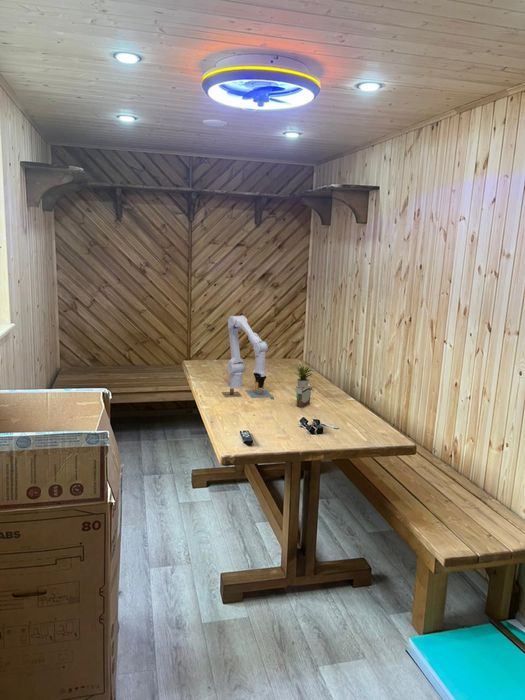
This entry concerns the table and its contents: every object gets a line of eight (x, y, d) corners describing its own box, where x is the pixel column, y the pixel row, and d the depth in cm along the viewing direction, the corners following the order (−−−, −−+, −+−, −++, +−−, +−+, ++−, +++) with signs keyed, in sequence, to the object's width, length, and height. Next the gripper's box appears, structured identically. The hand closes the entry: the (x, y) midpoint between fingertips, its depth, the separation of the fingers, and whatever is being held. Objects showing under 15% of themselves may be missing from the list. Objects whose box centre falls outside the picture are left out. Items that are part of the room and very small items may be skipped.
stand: (221, 394, 315) (221, 386, 314) (238, 393, 317) (238, 386, 316) (224, 399, 303) (224, 391, 302) (242, 398, 305) (242, 391, 305)
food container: (300, 402, 303) (301, 384, 301) (310, 404, 300) (311, 386, 298) (290, 406, 292) (291, 388, 291) (300, 408, 289) (301, 390, 287)
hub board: (244, 392, 321) (245, 384, 320) (266, 391, 324) (266, 384, 323) (251, 400, 304) (251, 392, 303) (273, 399, 307) (274, 391, 306)
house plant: (311, 393, 322) (312, 366, 320) (288, 391, 327) (289, 364, 324) (316, 388, 336) (318, 362, 333) (295, 386, 340) (296, 360, 337)
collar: (253, 387, 315) (253, 380, 314) (262, 387, 316) (262, 380, 316) (255, 389, 310) (255, 382, 309) (264, 389, 311) (265, 382, 310)
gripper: (250, 361, 317) (249, 383, 319) (256, 365, 303) (255, 389, 305) (262, 360, 318) (261, 383, 320) (268, 365, 304) (267, 389, 307)
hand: (259, 386), depth 313 cm, fingers closed on collar, 5 cm apart
